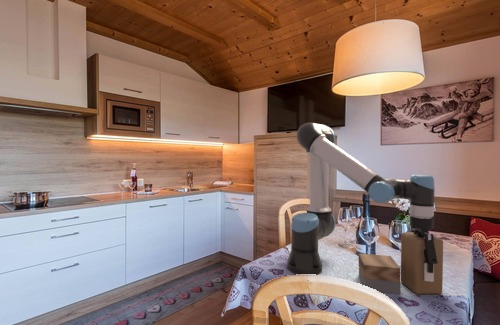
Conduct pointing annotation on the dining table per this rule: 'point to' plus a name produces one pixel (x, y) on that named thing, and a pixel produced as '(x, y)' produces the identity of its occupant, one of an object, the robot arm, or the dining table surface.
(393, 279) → the tower top slab
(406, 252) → the wooden block
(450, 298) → the dining table surface
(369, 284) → the tower base slab
